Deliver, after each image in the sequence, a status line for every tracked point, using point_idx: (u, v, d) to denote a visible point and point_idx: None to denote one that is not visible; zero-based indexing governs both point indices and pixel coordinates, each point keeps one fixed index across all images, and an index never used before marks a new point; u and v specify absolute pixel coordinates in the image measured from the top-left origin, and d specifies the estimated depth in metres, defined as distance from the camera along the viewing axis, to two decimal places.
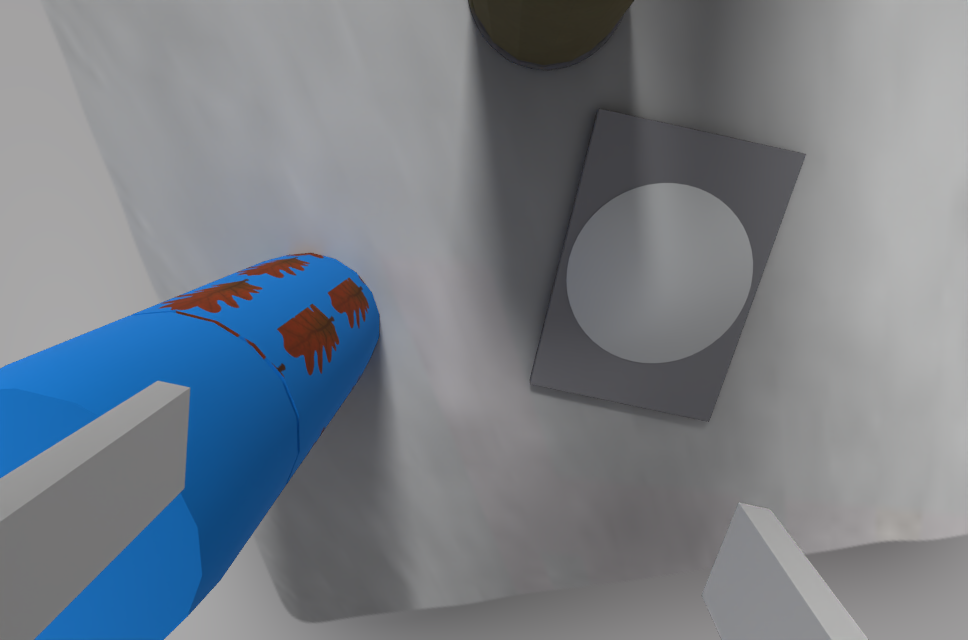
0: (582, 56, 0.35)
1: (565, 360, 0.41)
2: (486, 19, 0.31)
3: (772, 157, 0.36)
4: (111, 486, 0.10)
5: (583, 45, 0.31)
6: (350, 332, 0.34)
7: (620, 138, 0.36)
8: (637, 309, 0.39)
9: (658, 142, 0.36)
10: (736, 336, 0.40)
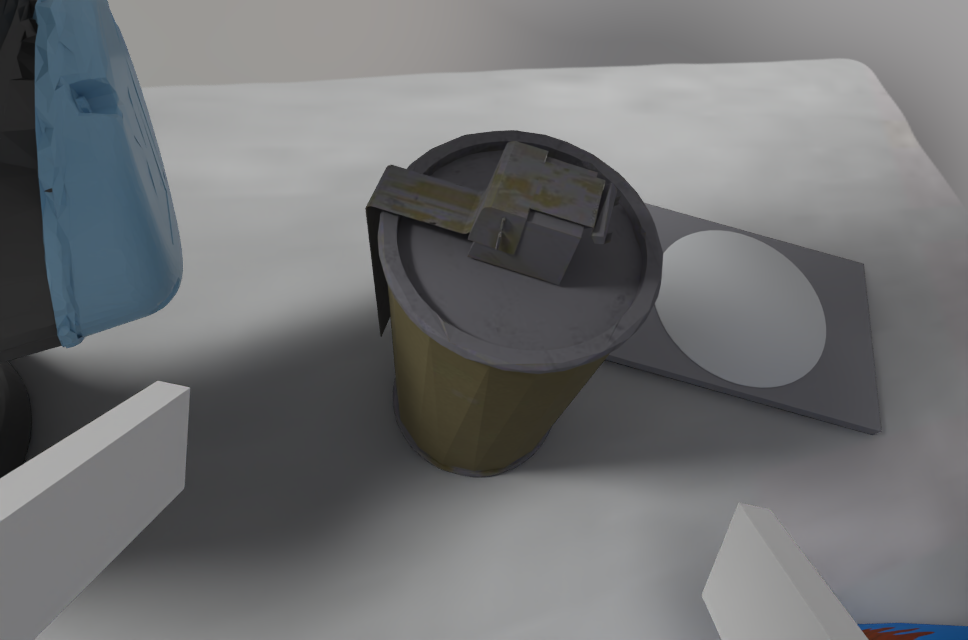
0: None
1: (843, 392, 0.37)
2: (539, 437, 0.29)
3: None
4: (111, 486, 0.10)
5: None
6: (944, 631, 0.24)
7: None
8: (773, 322, 0.39)
9: None
10: (778, 242, 0.43)
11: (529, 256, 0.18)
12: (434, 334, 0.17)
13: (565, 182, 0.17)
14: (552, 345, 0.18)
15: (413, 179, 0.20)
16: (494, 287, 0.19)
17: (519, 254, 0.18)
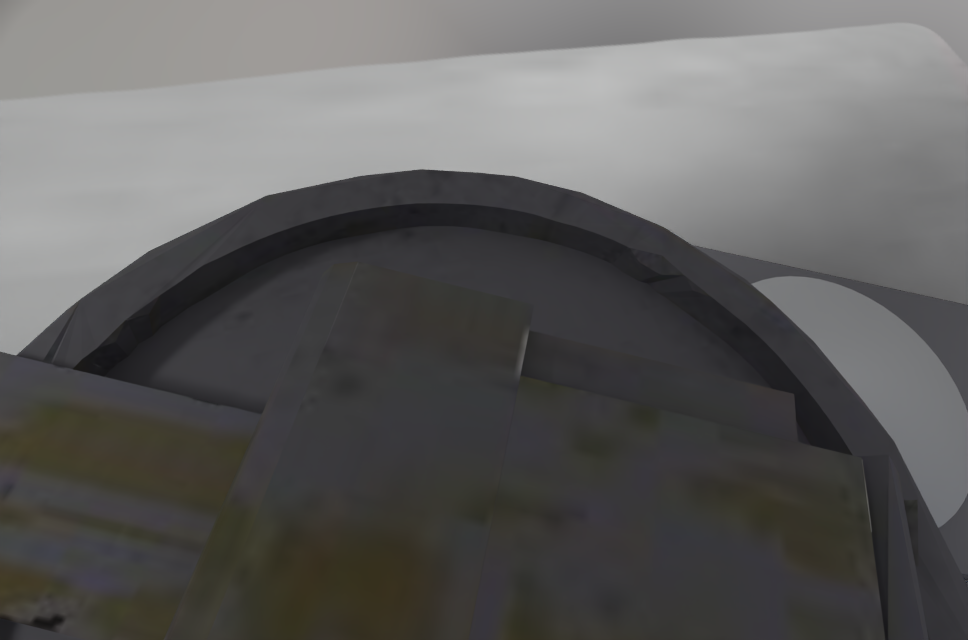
0: None
1: None
2: None
3: None
4: None
5: None
6: None
7: None
8: (893, 421, 0.25)
9: None
10: (873, 288, 0.29)
11: None
12: None
13: (650, 512, 0.03)
14: None
15: (18, 397, 0.05)
16: None
17: None
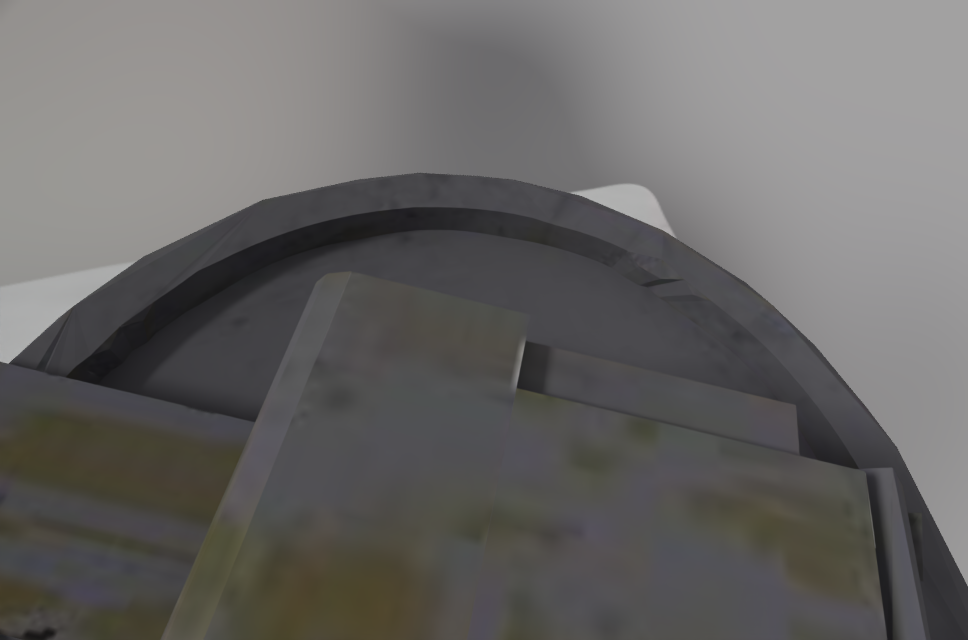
0: None
1: None
2: None
3: None
4: None
5: None
6: None
7: None
8: None
9: None
10: None
11: None
12: None
13: (650, 529, 0.03)
14: None
15: (10, 406, 0.05)
16: None
17: None
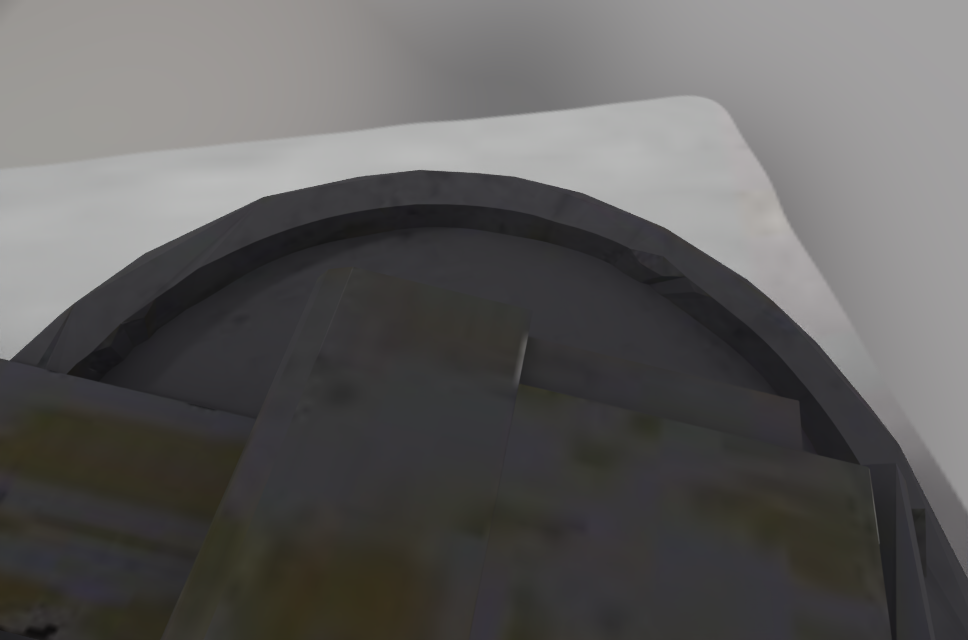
0: None
1: None
2: None
3: None
4: None
5: None
6: None
7: None
8: None
9: None
10: None
11: None
12: None
13: (652, 523, 0.03)
14: None
15: (11, 403, 0.05)
16: None
17: None
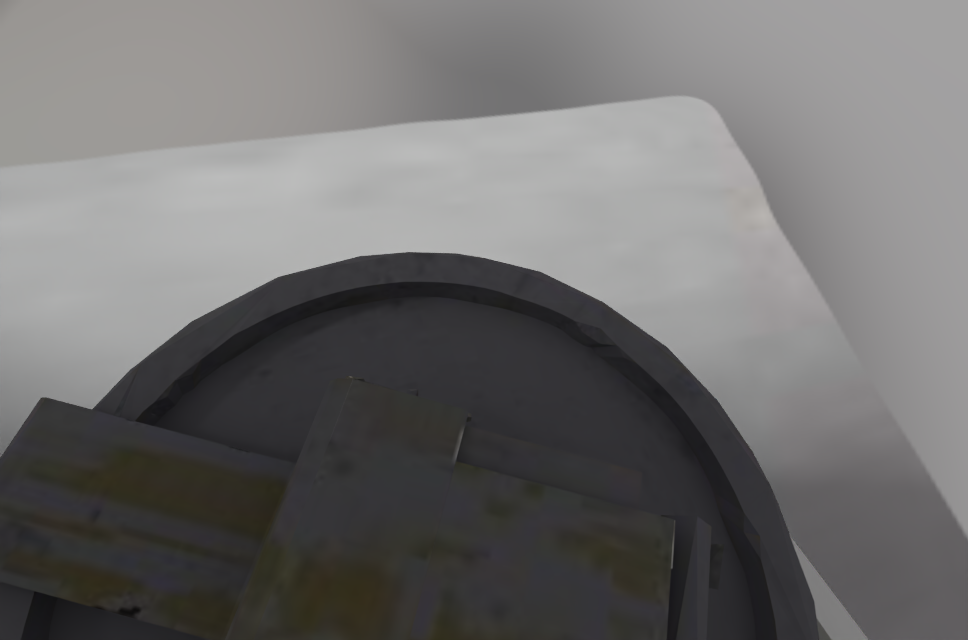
0: None
1: None
2: None
3: None
4: None
5: None
6: None
7: None
8: None
9: None
10: None
11: None
12: None
13: (530, 554, 0.05)
14: None
15: (101, 444, 0.07)
16: None
17: None
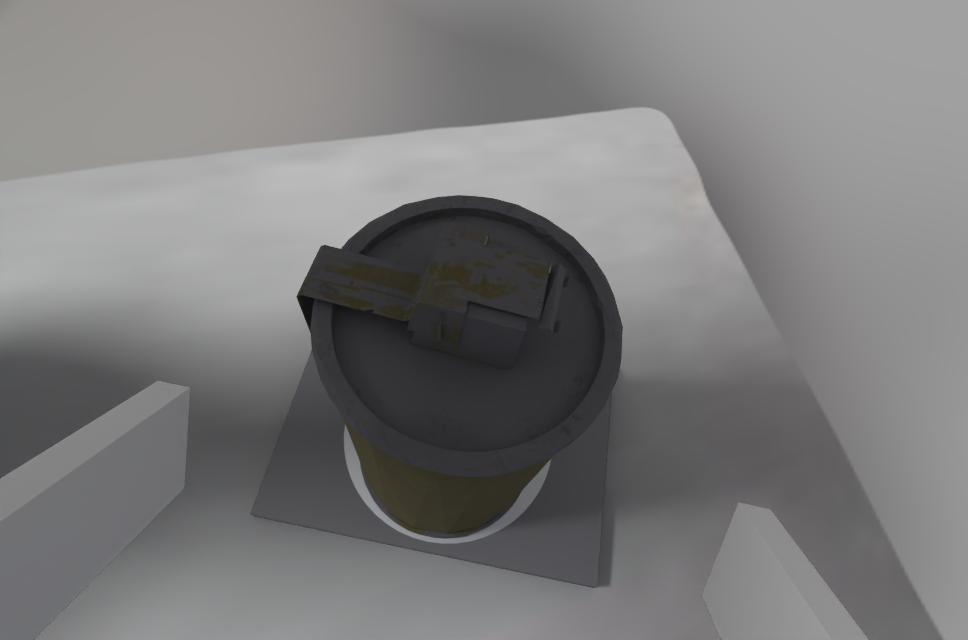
0: None
1: (559, 538, 0.32)
2: (511, 499, 0.28)
3: None
4: (111, 486, 0.10)
5: None
6: None
7: (288, 487, 0.31)
8: None
9: (299, 443, 0.33)
10: None
11: (474, 345, 0.17)
12: (372, 440, 0.16)
13: (507, 267, 0.16)
14: (504, 441, 0.17)
15: (348, 260, 0.18)
16: (440, 377, 0.17)
17: (463, 343, 0.17)
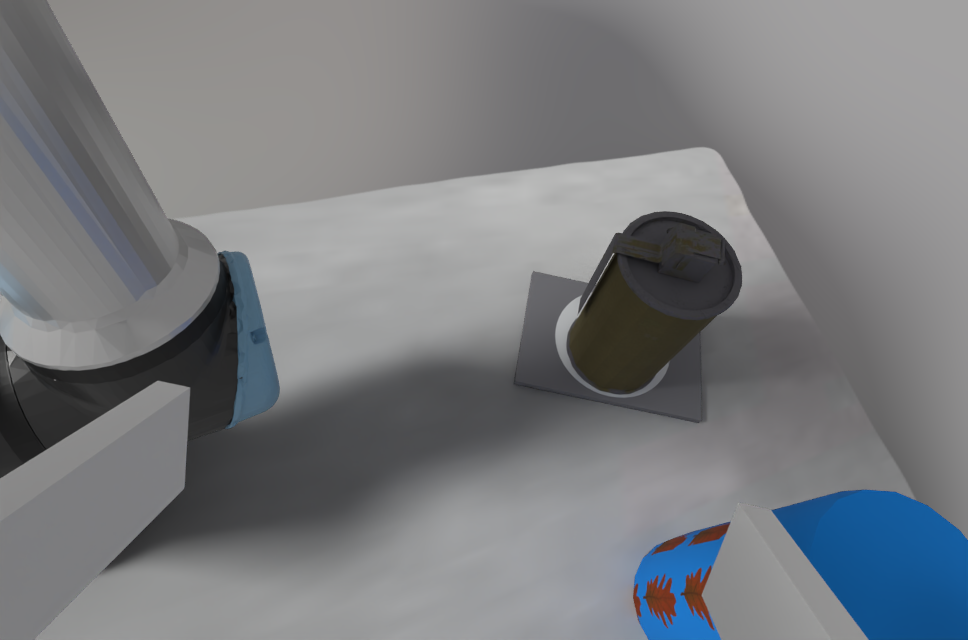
0: None
1: (678, 396, 0.58)
2: (663, 366, 0.54)
3: (536, 287, 0.62)
4: (111, 486, 0.10)
5: None
6: (699, 530, 0.45)
7: (531, 368, 0.57)
8: None
9: (532, 346, 0.59)
10: None
11: (688, 271, 0.43)
12: (654, 305, 0.42)
13: (705, 240, 0.42)
14: (700, 308, 0.43)
15: (630, 239, 0.44)
16: (671, 285, 0.44)
17: (684, 270, 0.43)
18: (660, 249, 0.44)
